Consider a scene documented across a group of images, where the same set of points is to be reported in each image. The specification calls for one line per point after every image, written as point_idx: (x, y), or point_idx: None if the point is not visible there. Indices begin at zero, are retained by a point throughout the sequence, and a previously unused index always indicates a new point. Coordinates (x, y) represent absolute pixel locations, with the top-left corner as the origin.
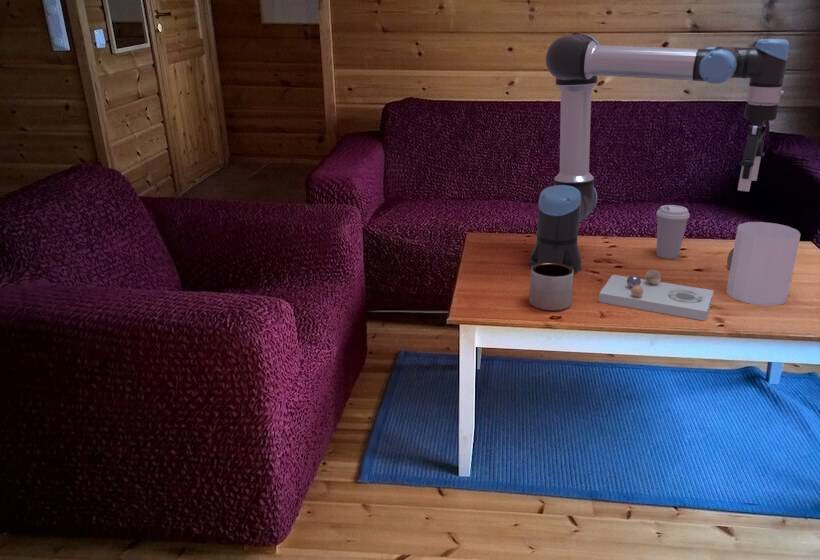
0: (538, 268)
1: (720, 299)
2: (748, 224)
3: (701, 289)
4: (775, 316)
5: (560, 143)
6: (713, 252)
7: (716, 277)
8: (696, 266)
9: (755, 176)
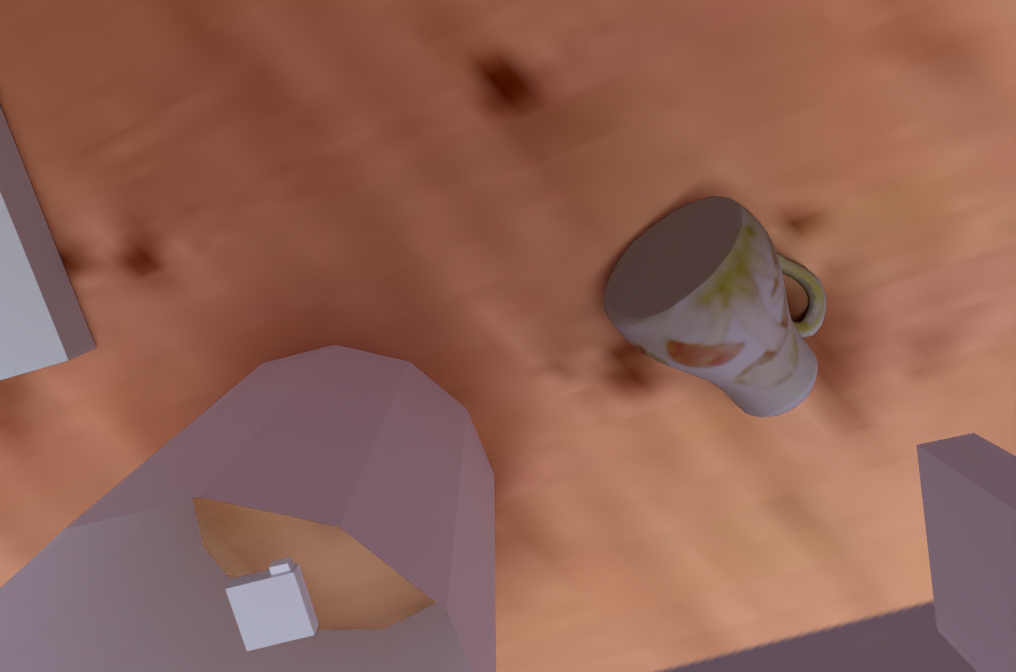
0: None
1: (130, 381)
2: (361, 529)
3: (26, 300)
4: None
5: None
6: (933, 15)
7: (454, 228)
8: (567, 45)
9: (987, 656)
